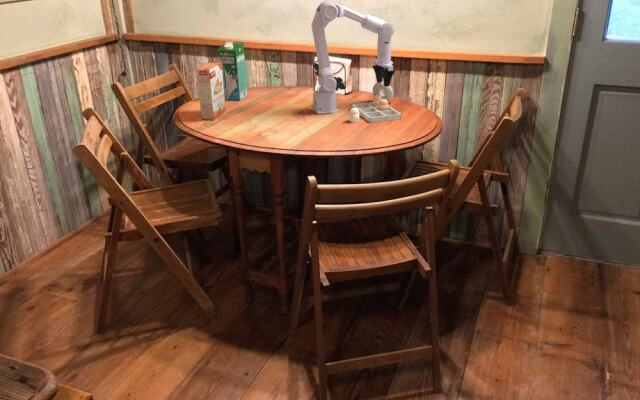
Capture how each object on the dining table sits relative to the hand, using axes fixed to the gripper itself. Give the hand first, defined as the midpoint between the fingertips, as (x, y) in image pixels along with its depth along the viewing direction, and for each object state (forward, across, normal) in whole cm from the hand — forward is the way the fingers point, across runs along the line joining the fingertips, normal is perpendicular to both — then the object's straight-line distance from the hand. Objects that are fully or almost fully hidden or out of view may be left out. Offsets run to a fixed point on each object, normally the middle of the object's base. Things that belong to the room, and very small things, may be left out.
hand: (383, 84), depth 234 cm
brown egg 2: (+10, -10, +4) cm, 14 cm away
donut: (+10, +6, -4) cm, 12 cm away
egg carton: (+10, -10, +7) cm, 16 cm away
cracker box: (+10, +15, +71) cm, 73 cm away
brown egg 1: (+10, -3, +4) cm, 11 cm away
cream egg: (+10, -16, +19) cm, 27 cm away
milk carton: (+10, +38, +58) cm, 70 cm away
